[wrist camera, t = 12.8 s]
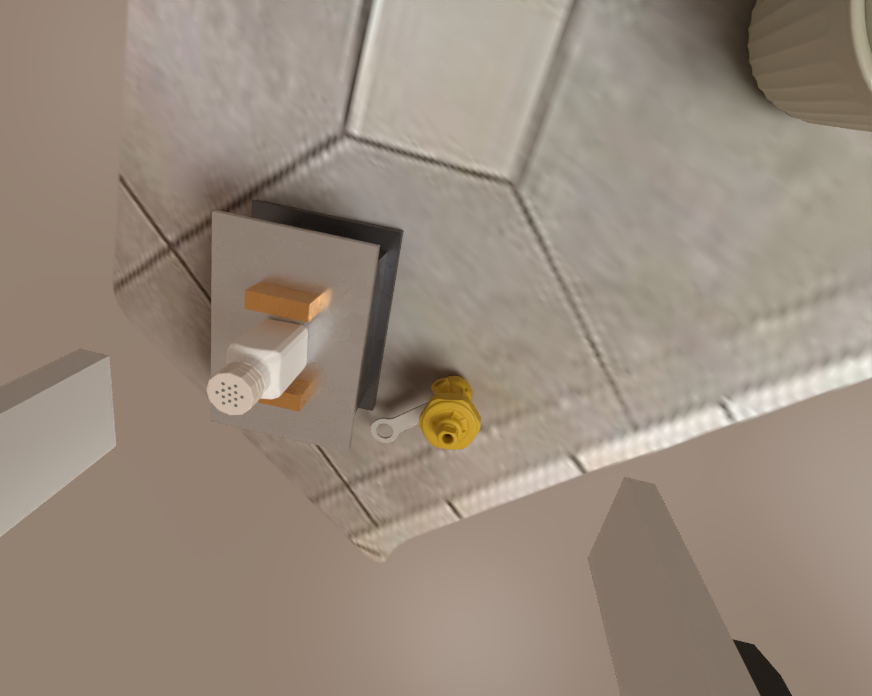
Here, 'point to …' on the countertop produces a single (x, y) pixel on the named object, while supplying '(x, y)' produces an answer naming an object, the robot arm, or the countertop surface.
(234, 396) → the pepper shaker
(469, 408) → the pressure relief valve
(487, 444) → the countertop surface
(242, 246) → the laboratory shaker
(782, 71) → the canister
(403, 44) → the countertop surface
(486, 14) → the countertop surface
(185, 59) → the countertop surface
